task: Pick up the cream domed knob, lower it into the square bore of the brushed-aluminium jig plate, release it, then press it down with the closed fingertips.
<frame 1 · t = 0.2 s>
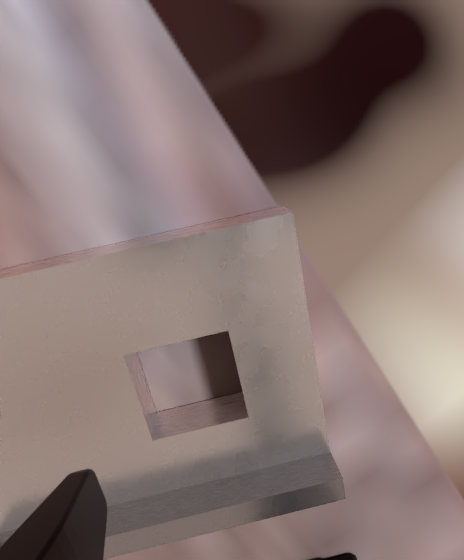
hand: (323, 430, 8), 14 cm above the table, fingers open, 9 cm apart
jig: (139, 375, 23), on the table
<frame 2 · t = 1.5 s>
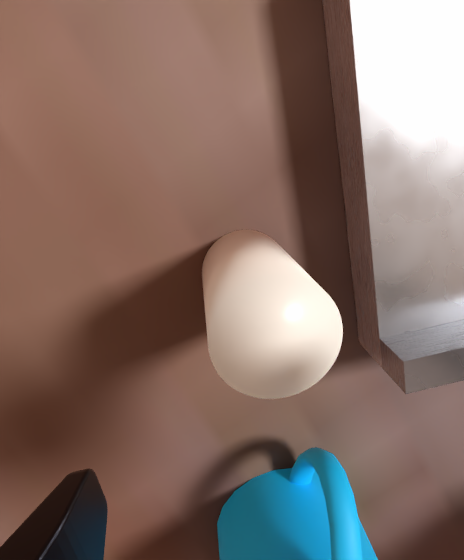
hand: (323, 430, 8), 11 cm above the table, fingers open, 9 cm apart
mug: (289, 494, 23), on the table
cream domed knob: (244, 272, 18), on the table
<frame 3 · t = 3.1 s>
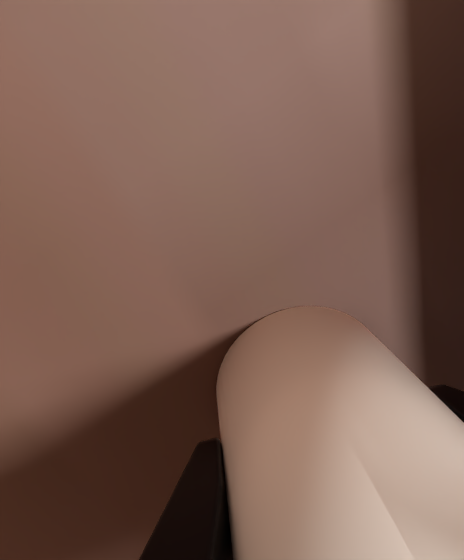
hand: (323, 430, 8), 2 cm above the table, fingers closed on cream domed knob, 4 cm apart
cream domed knob: (301, 385, 9), on the table, touching gripper
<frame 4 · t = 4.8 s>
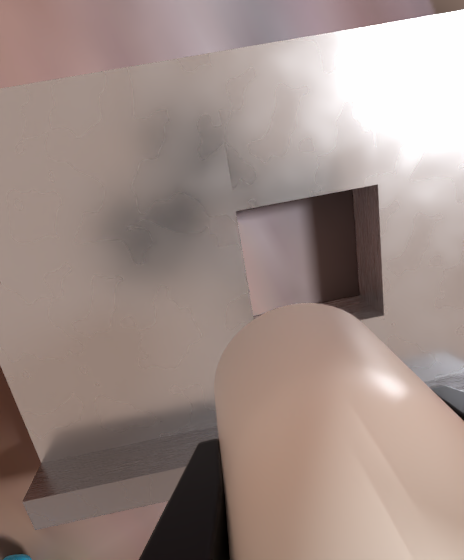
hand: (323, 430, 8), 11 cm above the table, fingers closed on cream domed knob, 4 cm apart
jig: (234, 264, 18), on the table
cream domed knob: (300, 383, 9), point 9 cm above the table, touching gripper
when the fingers open (3 cm above the table, at t = 6.5 s): cream domed knob drops 1 cm, resting in jig.
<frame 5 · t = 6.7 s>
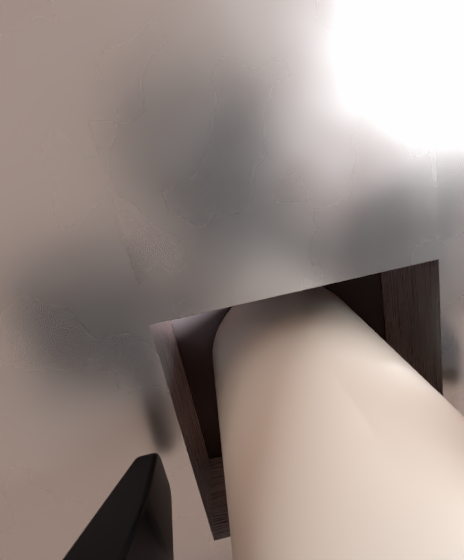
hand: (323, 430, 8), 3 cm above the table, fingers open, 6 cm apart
jig: (177, 380, 10), on the table
cream domed knob: (286, 351, 10), resting in jig
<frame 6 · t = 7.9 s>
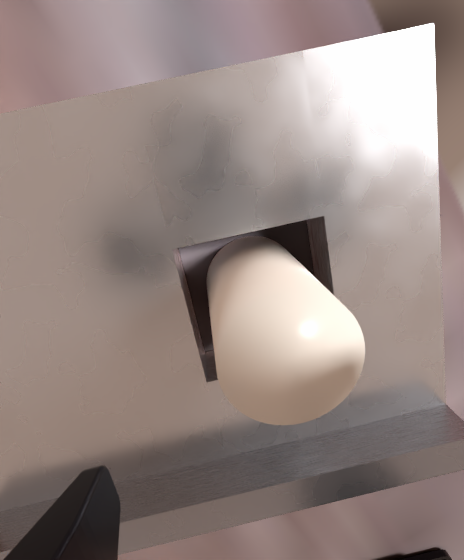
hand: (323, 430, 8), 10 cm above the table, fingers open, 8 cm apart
jig: (185, 298, 17), on the table
cream domed knob: (252, 281, 17), resting in jig
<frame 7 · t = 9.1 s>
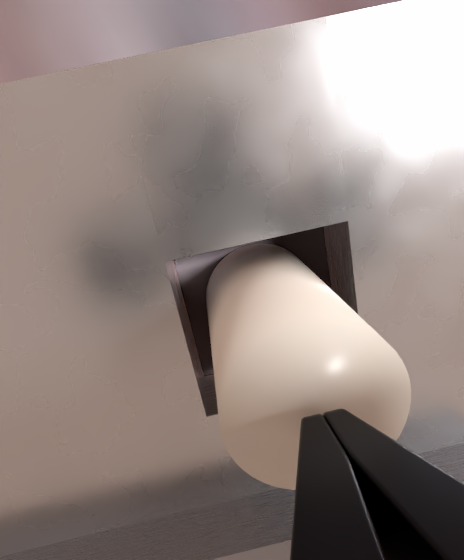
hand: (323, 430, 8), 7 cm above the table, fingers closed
jig: (181, 315, 14), on the table
cream domed knob: (259, 295, 14), resting in jig
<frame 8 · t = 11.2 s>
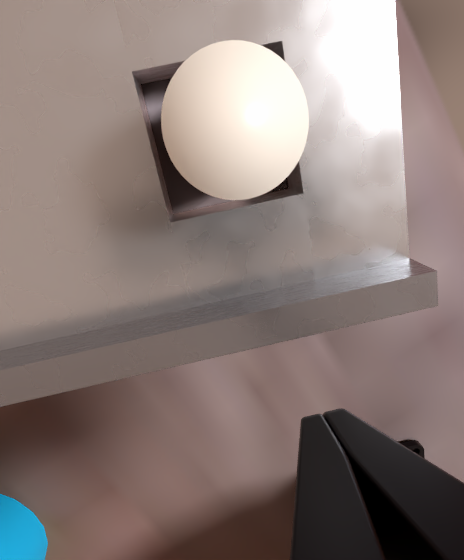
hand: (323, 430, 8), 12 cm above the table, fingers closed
jig: (152, 153, 17), on the table
cream domed knob: (218, 137, 17), resting in jig
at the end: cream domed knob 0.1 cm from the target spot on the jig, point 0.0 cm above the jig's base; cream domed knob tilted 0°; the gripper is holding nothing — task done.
